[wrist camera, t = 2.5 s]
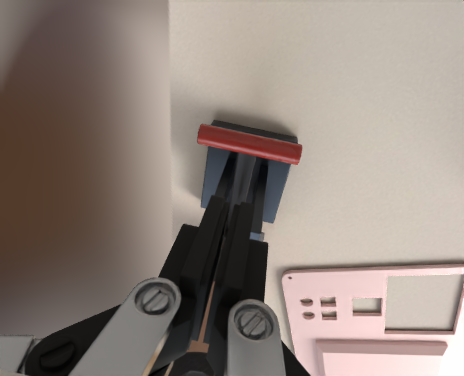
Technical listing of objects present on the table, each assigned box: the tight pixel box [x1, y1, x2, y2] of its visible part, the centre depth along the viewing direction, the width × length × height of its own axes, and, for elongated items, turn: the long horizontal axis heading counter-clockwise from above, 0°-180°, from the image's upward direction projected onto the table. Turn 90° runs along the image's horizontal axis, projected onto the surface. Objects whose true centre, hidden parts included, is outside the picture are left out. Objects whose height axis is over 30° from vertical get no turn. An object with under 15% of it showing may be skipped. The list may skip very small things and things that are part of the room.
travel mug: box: [168, 248, 223, 376], centre depth 39 cm, size 8×8×20 cm
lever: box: [197, 124, 302, 248], centre depth 24 cm, size 15×6×2 cm, turn 171°
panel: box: [282, 264, 464, 376], centre depth 51 cm, size 35×33×2 cm
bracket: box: [201, 120, 298, 242], centre depth 33 cm, size 12×10×14 cm
